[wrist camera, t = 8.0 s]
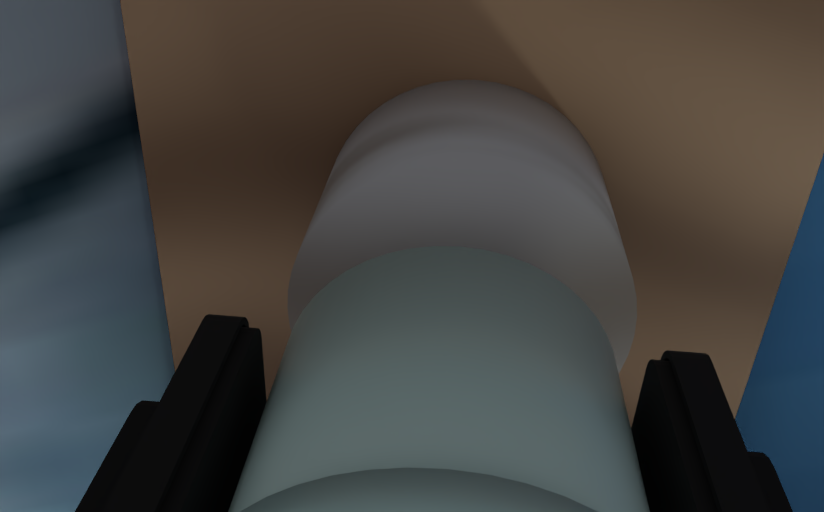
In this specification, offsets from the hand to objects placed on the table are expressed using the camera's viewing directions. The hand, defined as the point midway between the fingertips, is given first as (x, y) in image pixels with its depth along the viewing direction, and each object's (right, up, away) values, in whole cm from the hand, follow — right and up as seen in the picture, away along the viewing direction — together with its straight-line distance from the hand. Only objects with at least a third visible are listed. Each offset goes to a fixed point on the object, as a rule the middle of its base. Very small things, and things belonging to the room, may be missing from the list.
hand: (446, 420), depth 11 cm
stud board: (+1, +4, +7) cm, 8 cm away
